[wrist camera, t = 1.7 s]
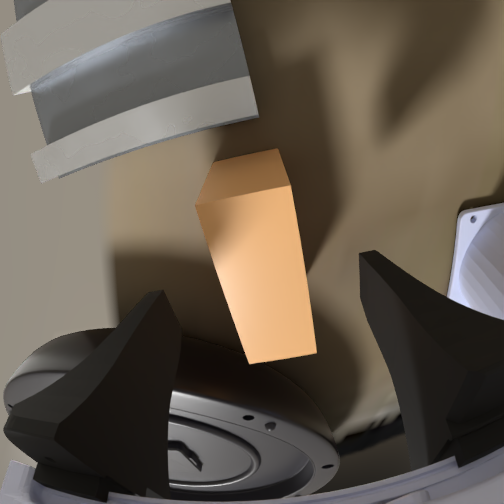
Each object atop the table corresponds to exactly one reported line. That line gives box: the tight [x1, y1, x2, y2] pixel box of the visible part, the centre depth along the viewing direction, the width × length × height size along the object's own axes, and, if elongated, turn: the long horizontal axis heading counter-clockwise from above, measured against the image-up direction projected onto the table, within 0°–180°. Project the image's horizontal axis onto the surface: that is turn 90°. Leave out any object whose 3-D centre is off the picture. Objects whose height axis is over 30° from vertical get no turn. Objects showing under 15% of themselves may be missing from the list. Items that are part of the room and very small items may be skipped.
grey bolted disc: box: [4, 328, 339, 502], centre depth 24 cm, size 30×6×30 cm
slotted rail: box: [0, 0, 259, 183], centre depth 9 cm, size 10×13×2 cm
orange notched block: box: [195, 148, 317, 364], centre depth 14 cm, size 3×8×5 cm, turn 12°
